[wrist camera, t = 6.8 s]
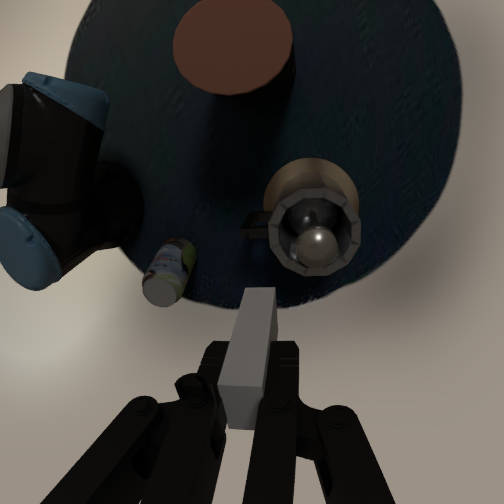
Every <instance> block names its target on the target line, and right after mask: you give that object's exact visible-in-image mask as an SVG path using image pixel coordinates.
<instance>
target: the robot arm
mask: <svg viewBox="0 0 504 504" xmlns="http://www.w3.org/2000/svg"><path fill="white" fill-rule="evenodd" d="M22 82H23V83H22V84H7V85H6V86H5V87H4V88H3V89H1V90H0V189H3V188H7V204H6V206H3V207H1V208H0V262H1V264H2V265H3V267H4V269H5V270H6V272H7V273H8V274H9V275H10V276H11V277H12V278H13V280H15V281H16V282H17V283H18V284H20V285H21V286H23V287H24V288H26V289H29V290H33V291H40V290H43V289H45V288H46V287H48V286H49V285H51V284H52V283H54V282H58V281H59V280H60V279H61V278H62V277H63V276H64V275H65V274H67V273H68V272H69V271H71V270H72V269H73V268H74V267H75V266H77V265H78V264H79V263H81V262H82V261H83V260H85V259H86V258H87V257H88V256H90V255H91V254H92V253H94V252H95V251H97V250H104V249H111V248H116V247H119V246H121V245H123V244H124V243H126V242H127V241H128V240H130V239H131V238H132V237H133V236H134V235H135V234H136V233H137V231H138V230H139V228H140V226H141V223H142V220H143V214H144V202H143V197H142V193H141V190H140V187H139V185H138V183H137V181H136V180H135V178H134V177H133V176H132V174H131V173H130V172H129V171H128V170H127V169H125V168H124V167H123V166H121V165H119V164H117V163H115V162H111V161H100V162H97V159H98V155H99V150H100V146H101V142H102V138H103V134H104V132H105V131H106V127H105V124H106V120H107V115H108V111H109V107H110V100H109V97H108V95H107V94H106V93H105V92H104V91H102V90H99V89H96V88H92V87H89V86H86V85H82V84H79V83H75V82H71V81H67V80H64V79H59V78H56V77H52V76H47V75H43V74H38V73H34V72H28V73H27V74H26V75H25V77H24V78H23V79H22ZM277 335H278V324H277V307H276V292H275V287H264V288H245V291H244V295H243V298H242V301H241V305H240V308H239V312H238V315H237V319H236V322H235V326H234V329H233V333H232V336H231V339H230V341H213V342H212V343H211V344H210V345H209V346H208V347H207V348H206V350H205V353H204V355H203V358H202V361H201V365H200V366H199V369H198V371H197V373H189V374H186V375H183V376H182V377H181V378H179V379H178V380H177V381H176V383H175V387H176V390H177V393H178V395H179V398H180V399H179V400H177V401H172V402H166V403H157V401H156V400H155V399H154V398H152V397H150V396H139V397H136V398H134V399H132V400H131V401H130V402H129V403H128V404H127V405H126V406H125V407H124V408H123V410H122V411H121V412H120V413H119V414H118V415H117V416H116V418H115V419H114V420H113V421H112V422H111V424H110V425H109V426H108V427H107V428H106V429H105V430H104V431H103V433H102V434H101V435H100V436H99V437H98V438H97V439H96V441H95V442H94V443H93V444H92V445H91V446H90V448H89V449H88V450H87V451H86V452H85V453H84V454H83V456H82V457H81V458H80V459H79V460H78V461H77V462H76V463H75V465H74V466H73V467H72V468H71V469H70V470H69V472H68V473H67V474H66V475H65V476H64V477H63V478H62V479H61V480H60V482H59V483H58V484H57V485H56V486H55V487H54V489H53V490H52V491H51V492H50V493H49V494H48V495H47V496H46V498H45V499H44V500H43V501H42V502H41V503H40V504H139V502H140V501H141V503H140V504H212V500H213V496H214V492H215V487H216V483H217V479H218V474H219V470H220V466H221V461H222V457H223V453H224V448H225V444H226V433H225V429H226V424H228V427H229V429H242V430H255V432H254V438H253V445H252V451H251V457H250V463H249V469H248V474H247V480H246V485H245V491H244V497H243V502H242V504H293V496H294V483H295V467H296V456H299V457H302V458H305V459H309V460H313V461H314V464H315V467H316V470H317V474H318V477H319V481H320V484H321V488H322V491H323V494H324V497H325V501H326V504H395V501H394V499H393V497H392V494H391V492H390V490H389V487H388V485H387V483H386V480H385V478H384V476H383V473H382V471H381V469H380V466H379V464H378V462H377V460H376V457H375V455H374V453H373V450H372V449H371V446H370V444H369V441H368V439H367V437H366V435H365V432H364V430H363V428H362V426H361V424H360V421H359V419H358V417H357V415H356V414H355V413H354V411H353V410H352V409H350V408H348V407H347V406H342V405H334V406H330V407H328V408H325V409H324V410H318V409H314V408H311V407H309V406H307V405H305V404H304V403H303V402H302V401H301V400H300V398H299V348H298V346H297V345H296V343H295V341H277Z"/></svg>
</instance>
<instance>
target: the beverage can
mask: <svg viewBox="0 0 504 504" xmlns="http://www.w3.org/2000/svg"><path fill="white" fill-rule="evenodd" d="M196 258H197V253H196V250H195V248H194V246H193V245H192V244H191V243H190V242H189V241H188V240H186V239H184V238H181V237H172V238H169V239H167V240H166V241H165V242H164V243H163V245H162V246H161V248H160V250H159V251H158V253H157V255H156V256H155V258H154V259H153V261H152V263H151V265H150V266H149V268H148V270H147V271H146V273H145V275H144V277H143V279H142V287H143V294H144V296H145V298H146V299H147V300H148V301H149V302H150V303H152V304H153V305H155V306H159V307H168V306H171V305H173V304H174V303H175V302H177V301H178V300H179V299H180V298H181V296H182V294H183V292H184V289H185V287H186V284H187V281H188V279H189V276H190V274H191V271H192V269H193V266H194V264H195V261H196Z"/></svg>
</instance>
